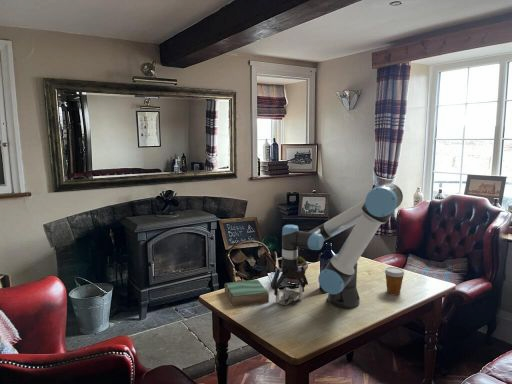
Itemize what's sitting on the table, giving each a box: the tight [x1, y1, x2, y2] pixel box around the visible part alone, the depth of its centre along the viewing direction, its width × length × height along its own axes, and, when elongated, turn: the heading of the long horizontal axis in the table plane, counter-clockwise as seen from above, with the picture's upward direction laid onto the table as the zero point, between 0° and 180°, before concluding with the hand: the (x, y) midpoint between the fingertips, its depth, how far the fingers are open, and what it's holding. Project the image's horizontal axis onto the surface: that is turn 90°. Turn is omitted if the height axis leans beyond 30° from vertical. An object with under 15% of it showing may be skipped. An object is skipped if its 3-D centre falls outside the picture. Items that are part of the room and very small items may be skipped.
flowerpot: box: [280, 255, 309, 285], centre depth 208 cm, size 14×15×20 cm
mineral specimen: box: [279, 287, 300, 306], centre depth 183 cm, size 10×8×10 cm
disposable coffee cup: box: [384, 266, 405, 296], centre depth 194 cm, size 10×10×12 cm
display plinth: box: [224, 278, 270, 308], centre depth 189 cm, size 18×18×5 cm
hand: (289, 300), depth 185 cm, fingers open, 11 cm apart
